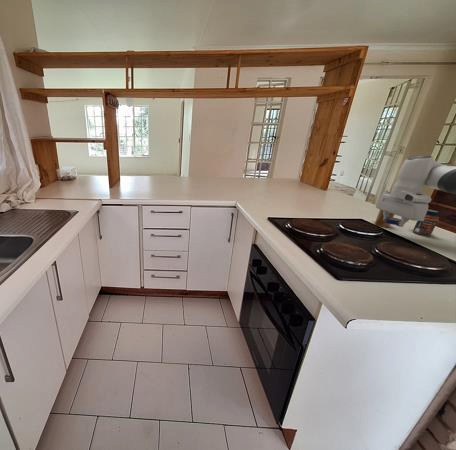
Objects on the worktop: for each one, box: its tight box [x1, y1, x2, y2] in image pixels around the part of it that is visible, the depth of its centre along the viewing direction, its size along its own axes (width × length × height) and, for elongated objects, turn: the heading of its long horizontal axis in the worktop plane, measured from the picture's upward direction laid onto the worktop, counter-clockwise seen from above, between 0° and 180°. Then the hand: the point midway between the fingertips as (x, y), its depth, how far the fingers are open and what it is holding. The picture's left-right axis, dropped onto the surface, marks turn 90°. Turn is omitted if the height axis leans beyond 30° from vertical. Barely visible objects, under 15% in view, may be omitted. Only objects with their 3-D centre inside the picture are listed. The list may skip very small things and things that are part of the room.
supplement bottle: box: [412, 209, 440, 237], centre depth 108 cm, size 6×6×11 cm
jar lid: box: [384, 217, 402, 226], centre depth 107 cm, size 6×6×2 cm
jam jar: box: [374, 209, 395, 228], centre depth 118 cm, size 6×6×10 cm
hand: (392, 223), depth 107 cm, fingers closed on jar lid, 6 cm apart
